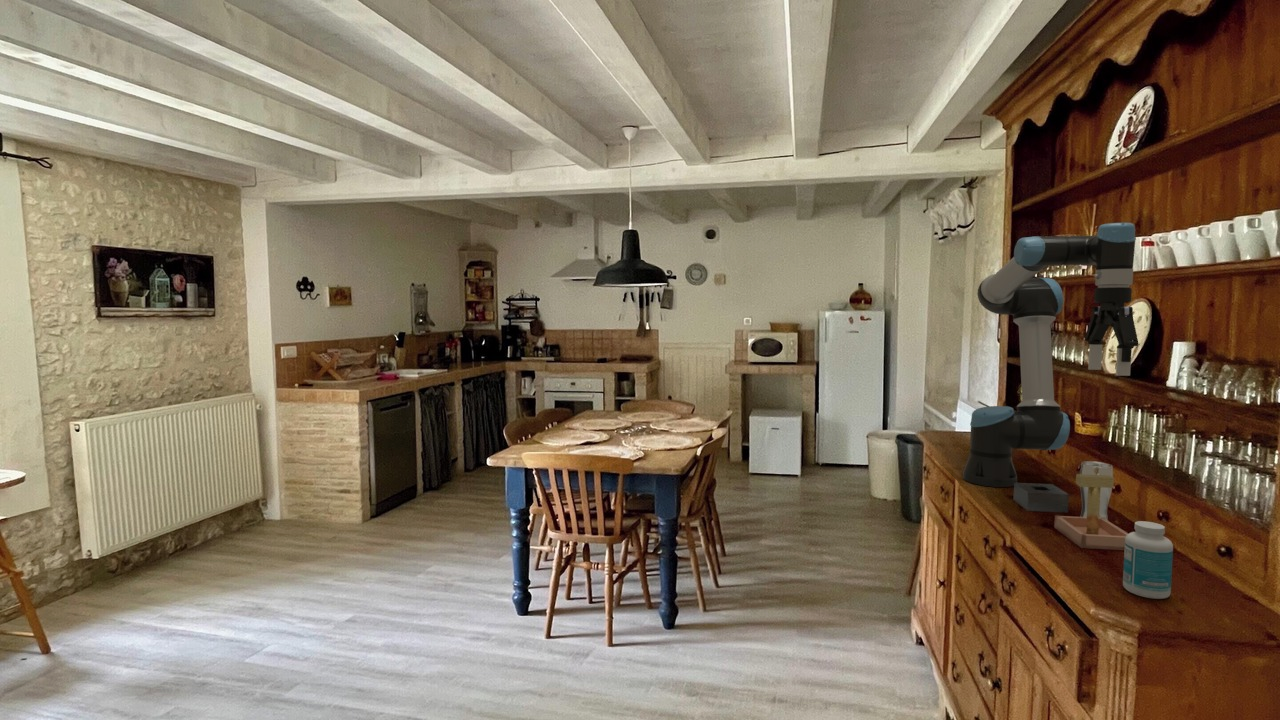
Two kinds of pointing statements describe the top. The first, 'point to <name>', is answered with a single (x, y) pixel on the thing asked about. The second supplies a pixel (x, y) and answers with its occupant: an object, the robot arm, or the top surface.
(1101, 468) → the beer glass
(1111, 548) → the pale pink tray
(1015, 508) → the top surface
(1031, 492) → the grey square block
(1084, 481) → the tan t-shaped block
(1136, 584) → the pill bottle
